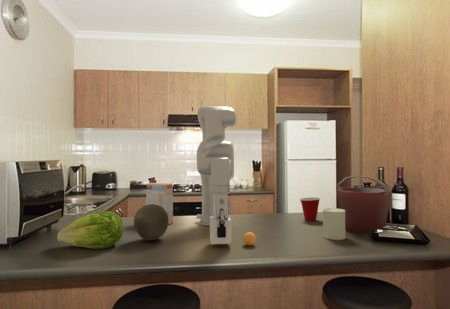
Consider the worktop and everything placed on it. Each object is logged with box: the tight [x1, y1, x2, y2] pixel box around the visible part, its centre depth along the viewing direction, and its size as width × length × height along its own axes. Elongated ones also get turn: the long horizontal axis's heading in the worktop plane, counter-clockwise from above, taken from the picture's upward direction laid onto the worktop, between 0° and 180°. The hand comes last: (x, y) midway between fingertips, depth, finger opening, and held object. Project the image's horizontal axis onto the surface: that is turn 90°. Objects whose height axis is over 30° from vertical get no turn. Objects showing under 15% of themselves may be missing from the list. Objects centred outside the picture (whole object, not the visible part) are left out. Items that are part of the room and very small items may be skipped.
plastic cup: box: [299, 197, 321, 222], centre depth 164 cm, size 11×11×12 cm
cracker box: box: [145, 182, 174, 226], centre depth 159 cm, size 14×6×21 cm, turn 58°
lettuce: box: [56, 210, 124, 250], centre depth 119 cm, size 14×24×15 cm
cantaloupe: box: [133, 204, 169, 241], centre depth 127 cm, size 14×14×15 cm
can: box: [322, 207, 347, 241], centre depth 130 cm, size 9×9×12 cm
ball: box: [242, 231, 257, 246], centre depth 119 cm, size 5×5×5 cm
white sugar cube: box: [209, 216, 232, 245], centre depth 119 cm, size 8×8×9 cm
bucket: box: [336, 175, 392, 235], centre depth 143 cm, size 24×22×25 cm
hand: (220, 234), depth 119 cm, fingers closed on white sugar cube, 7 cm apart
